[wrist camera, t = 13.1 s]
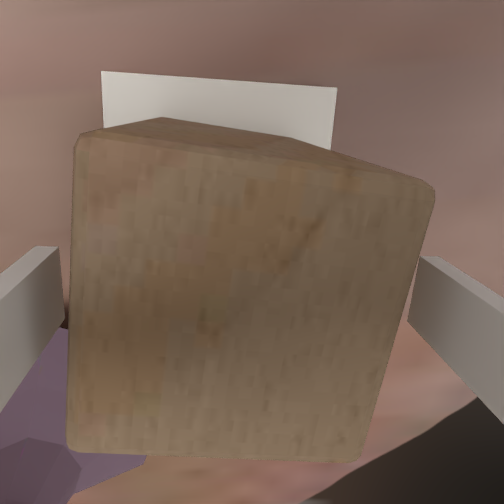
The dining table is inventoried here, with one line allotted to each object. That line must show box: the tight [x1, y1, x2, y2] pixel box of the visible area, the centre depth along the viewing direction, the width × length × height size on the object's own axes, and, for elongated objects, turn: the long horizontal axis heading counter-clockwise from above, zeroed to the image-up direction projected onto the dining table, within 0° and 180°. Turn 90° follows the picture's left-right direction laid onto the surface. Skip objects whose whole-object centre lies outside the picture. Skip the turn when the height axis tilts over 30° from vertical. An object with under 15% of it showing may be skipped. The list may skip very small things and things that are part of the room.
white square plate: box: [101, 71, 337, 150], centre depth 33 cm, size 16×16×3 cm
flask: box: [0, 327, 147, 504], centre depth 29 cm, size 16×16×20 cm
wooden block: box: [65, 117, 435, 463], centre depth 22 cm, size 10×10×20 cm
